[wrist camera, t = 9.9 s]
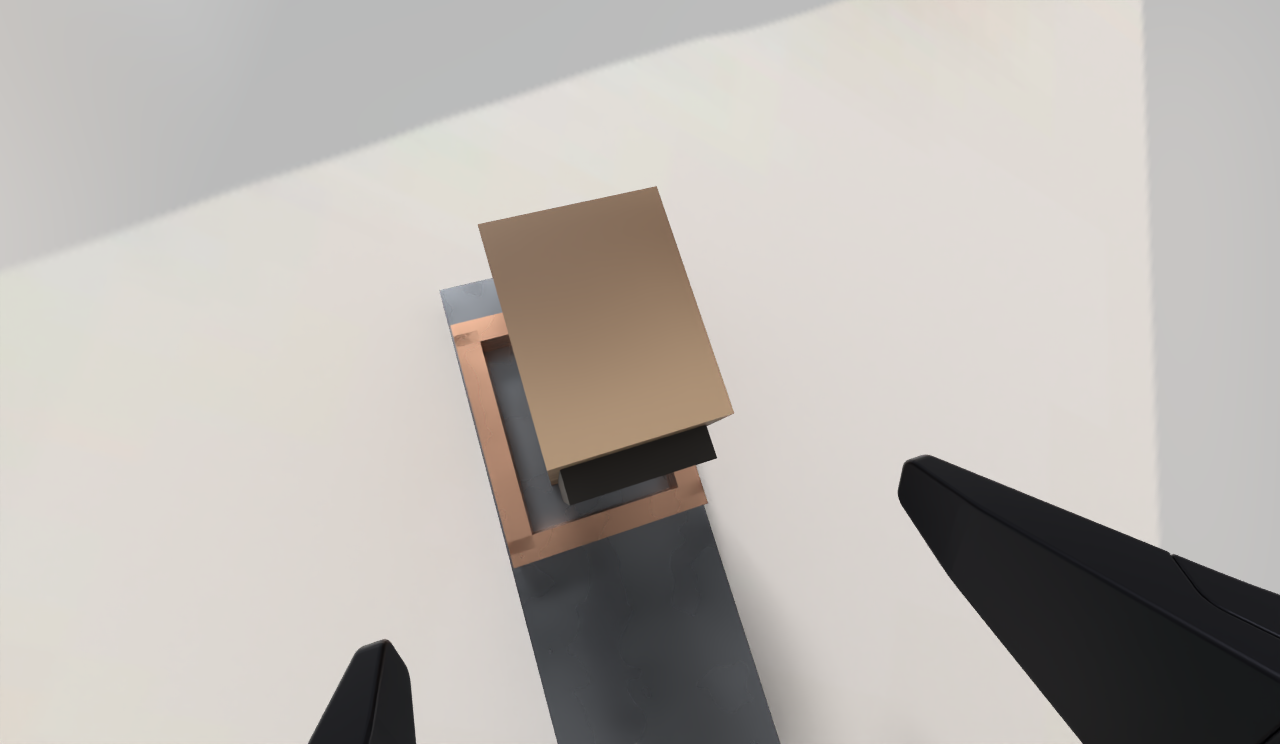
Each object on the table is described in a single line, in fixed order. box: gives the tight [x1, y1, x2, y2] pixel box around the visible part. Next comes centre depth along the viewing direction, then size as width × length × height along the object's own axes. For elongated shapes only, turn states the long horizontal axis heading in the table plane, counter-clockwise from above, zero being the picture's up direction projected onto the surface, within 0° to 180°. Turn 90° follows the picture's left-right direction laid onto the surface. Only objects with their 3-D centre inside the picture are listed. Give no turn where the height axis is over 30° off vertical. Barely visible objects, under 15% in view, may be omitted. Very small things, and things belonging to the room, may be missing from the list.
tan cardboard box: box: [478, 186, 734, 506], centre depth 15 cm, size 5×3×12 cm, turn 18°
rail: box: [439, 278, 780, 744], centre depth 14 cm, size 26×7×14 cm, turn 17°
